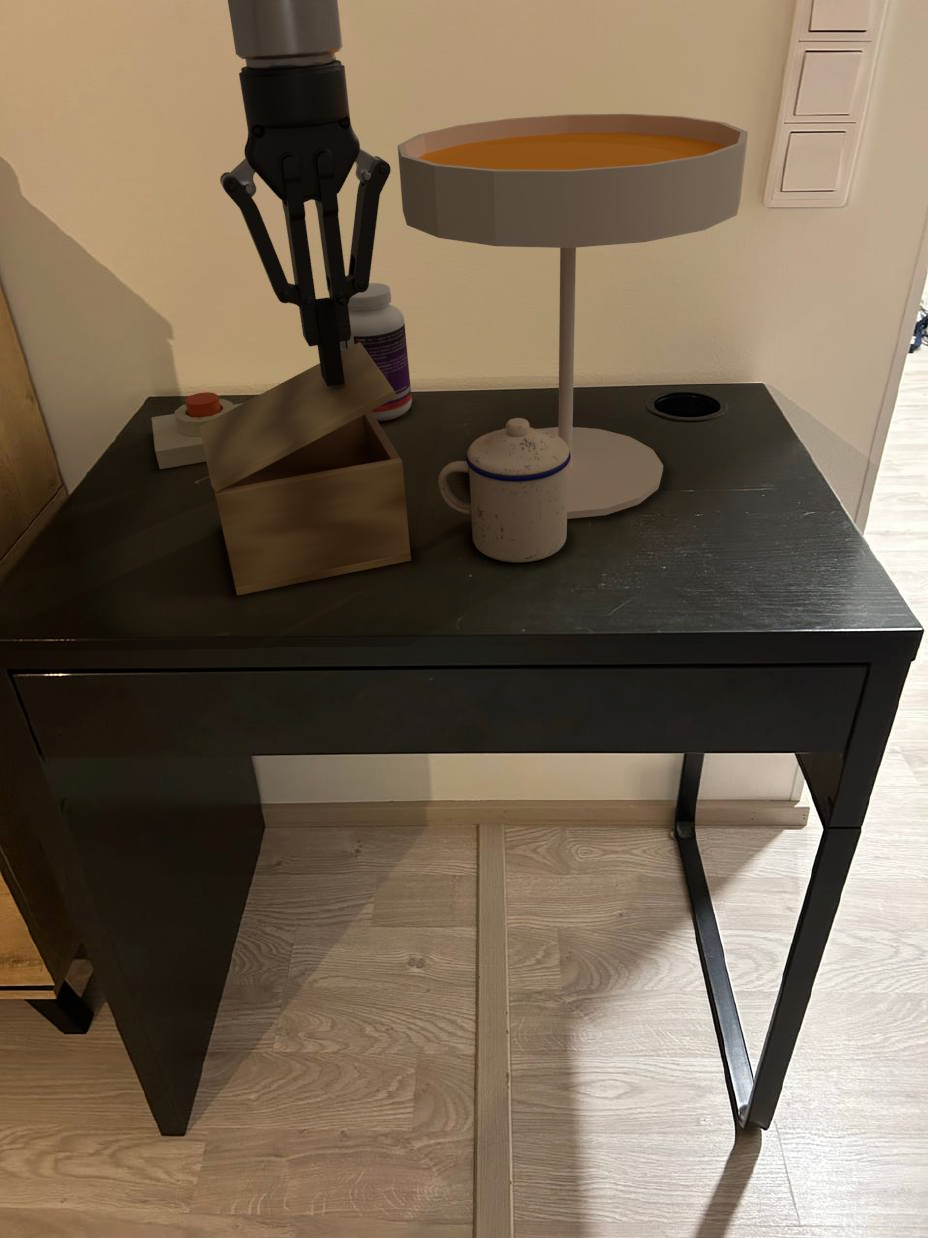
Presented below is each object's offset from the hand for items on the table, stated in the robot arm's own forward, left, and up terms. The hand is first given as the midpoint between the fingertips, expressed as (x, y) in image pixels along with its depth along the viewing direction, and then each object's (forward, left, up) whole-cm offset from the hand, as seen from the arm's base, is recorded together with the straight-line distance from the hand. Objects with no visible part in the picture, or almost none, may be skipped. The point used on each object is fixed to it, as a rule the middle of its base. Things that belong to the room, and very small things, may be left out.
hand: (333, 379), depth 81 cm
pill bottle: (+9, +28, -16) cm, 34 cm away
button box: (-11, +27, -15) cm, 33 cm away
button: (-11, +27, -12) cm, 32 cm away
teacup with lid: (+13, -6, -16) cm, 21 cm away
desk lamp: (+23, +5, -16) cm, 29 cm away
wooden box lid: (-4, 0, -3) cm, 5 cm away
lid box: (-4, 0, -15) cm, 16 cm away
